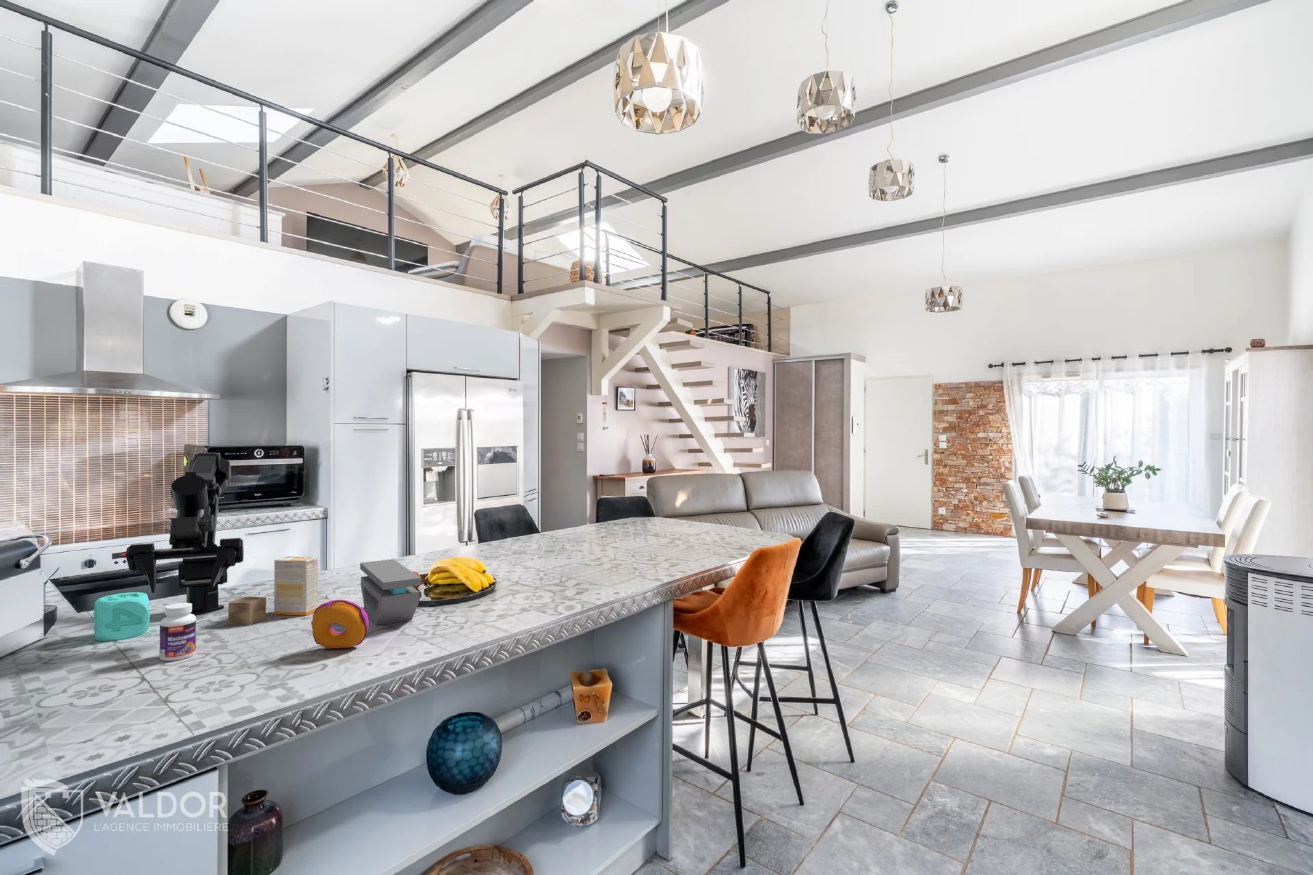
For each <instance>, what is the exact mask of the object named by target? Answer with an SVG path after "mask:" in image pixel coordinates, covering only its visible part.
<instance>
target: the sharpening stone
mask: <svg viewBox="0 0 1313 875" xmlns="http://www.w3.org/2000/svg"><path fill="white" fill-rule="evenodd" d="M359 565H360V566H359V570H360V571H362V572H363V573H364V574H365V576H360V589H361V594H362V595H361V596H362V601H363V609H364V611H365V612H366V613H367V615H368V619H370V620H371V621H372V623H373V624H374V625H375V626H379V625H386V624H391V623H398V622H405V621H409V620H413V619H414V615H415V613H416V610H417V608H418V605H419V604H420V603H419V602H420V591H419V590H417V589H416V588H415V587H416V586H422V578H421V577H420V576H419V575H417V574H416V573H415V572H413V571H412V570H410V569H408V568H407V567H406V566H404V565H403V564H401V563H400V562H399V561H397V560H395V558H394V559H393V558H391V559H383V560H382V559H381V560H374V561H364V562H363V561H362V562H360V564H359Z"/></svg>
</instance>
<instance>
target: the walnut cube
mask: <svg viewBox="0 0 1313 875" xmlns="http://www.w3.org/2000/svg"><path fill="white" fill-rule="evenodd" d="M227 606H228V607H227V608H228V614H227V616H228V617H227V618H228V619H227V622H228V623H227V624H228V625H231V626H232V625H233V626H251V625H253V624H256V623H258V622H262V621H264V620H266V619H267V597H266V596H243V597H240V598H238V599H237V598H236V599H235V600H232V601H228V605H227ZM263 619H264V620H263Z"/></svg>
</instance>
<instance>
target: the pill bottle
mask: <svg viewBox="0 0 1313 875" xmlns="http://www.w3.org/2000/svg"><path fill="white" fill-rule="evenodd" d="M190 612H192V604H191V603H186V602H178V603H172V604H167V606H165V609H164V615H165V616H166V617H164V618H162V619H161V621H159V622H160V623H159V649H158V650H159V652H158V654H159V656H158V658H159V660H161V661H164V662H174V661H180V660H184V659H188V658H190V657H192V656H194V655H195V654H196V650H197V649H196V647H197V646H196V645H197V643H196V642H197V617H196V615H195V614H190Z"/></svg>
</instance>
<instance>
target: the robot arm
mask: <svg viewBox="0 0 1313 875" xmlns="http://www.w3.org/2000/svg"><path fill="white" fill-rule="evenodd" d="M184 473H185V474H184V475H182V476H179V477H178V478H176V479H174V480H173V482H171V487H170V488H171V489H170V494H171V495H170V496H171V499H173V504H174V507H175V509H176V516H175V517H173V518H171V519H170V525H169V526H170V529H169V539H168V543H169V545H170V546H171V547H169V548H155V542H154V543H153V542H151V543H147V542H146V543H134V544H130V545H129V546H128V547H127V548H126V551H125V559H126V563H127V566H128V569H129V571H131V572H136V573H137V574H140V575H141V574H143V575H144V576H145V578H146V580H147V581H148V586H149V588H150V591H151V594H155V593H156V589H157V568H156V567H157V566H156V565H157V561H159V560H174V559H175V560H176V559H177V560H179V559H182V561H179V562H178V569H177V573H178V577H177V578H178V588H179V589H184V588H185V589H186V592H185V593H186V598H185V599H186V602H185V603H191V604H192V612H190V614H193V615H195V616H196V615H201V614H206V613H210V612H213V611H217V610H221V609H225V605H222V604H219V585H224V584H226V583H228V569H229V568H230V567H235V566H236V564H240V563H243V562H244V555H245V554H244V553H245V552H244V551H245V550H244V549H245V548H244V540H243V539H242V538H241V537H229V538H220V539H219V545H217V544H216V533H217V523H218V522H217V521H218V513H219V512H218V510H219V499H220V496H221V495H222V494H223V493H224V492H225V491H226V490H227V488H228V483H229V482H228V481H231V478H232V467H231V462H230V461H229V460H227V459H225V458H223V457H221V453H217V452H198V453H194V457H193V459H191V460H190V461H189V465H188V471H185V472H184Z"/></svg>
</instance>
